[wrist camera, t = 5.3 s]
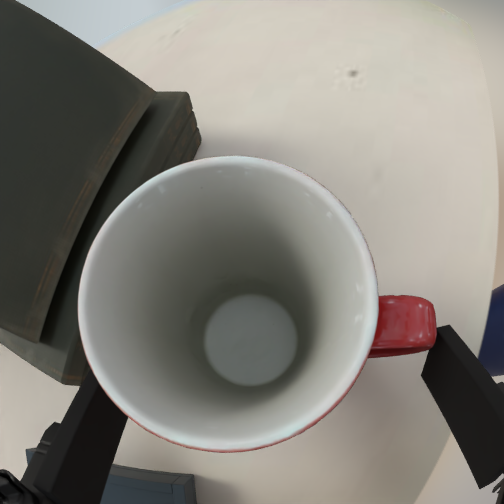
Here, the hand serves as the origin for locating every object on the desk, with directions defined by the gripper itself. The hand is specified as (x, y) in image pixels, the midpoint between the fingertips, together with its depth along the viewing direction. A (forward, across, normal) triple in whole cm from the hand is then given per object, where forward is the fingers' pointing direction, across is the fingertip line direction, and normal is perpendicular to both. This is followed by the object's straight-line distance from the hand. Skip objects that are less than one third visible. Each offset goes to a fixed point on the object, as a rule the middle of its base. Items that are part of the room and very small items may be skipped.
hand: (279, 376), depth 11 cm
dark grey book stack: (+16, -18, +3) cm, 24 cm away
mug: (+8, 0, -5) cm, 9 cm away
